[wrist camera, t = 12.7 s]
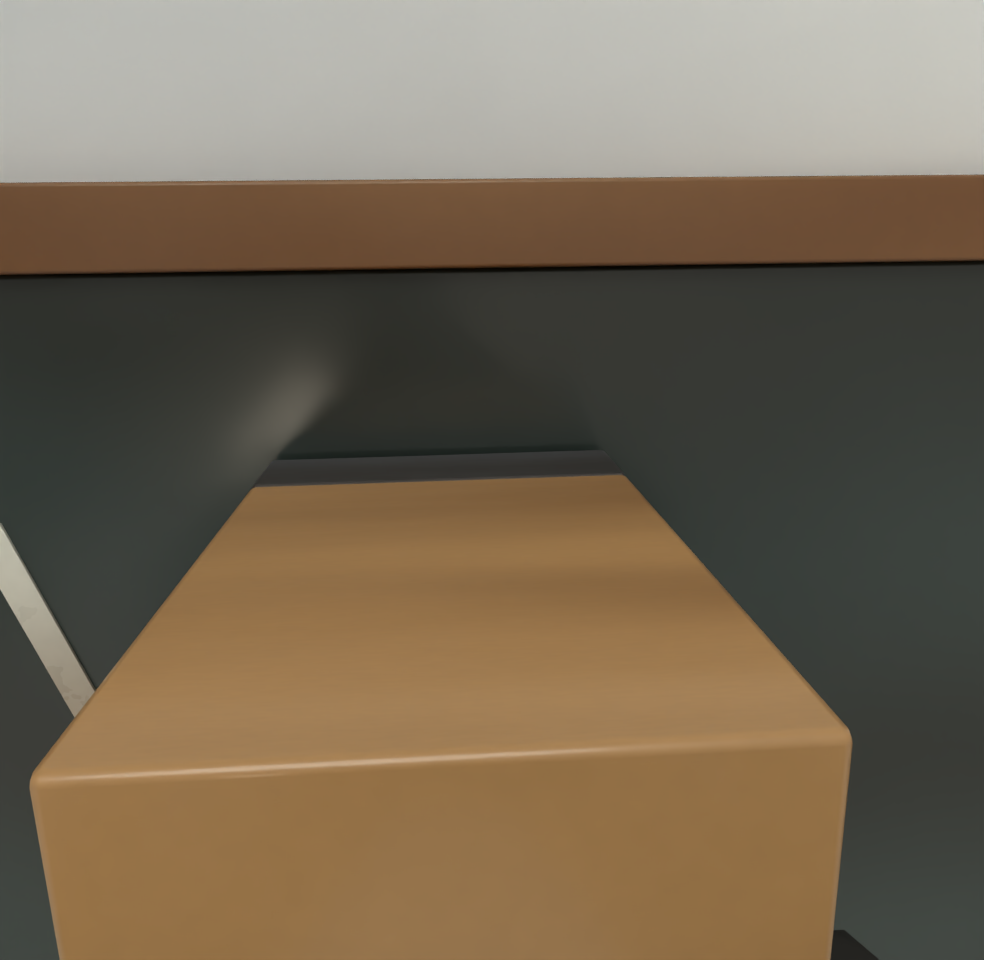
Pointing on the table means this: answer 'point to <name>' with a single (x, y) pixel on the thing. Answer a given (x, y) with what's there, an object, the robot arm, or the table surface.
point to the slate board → (527, 436)
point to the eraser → (446, 738)
